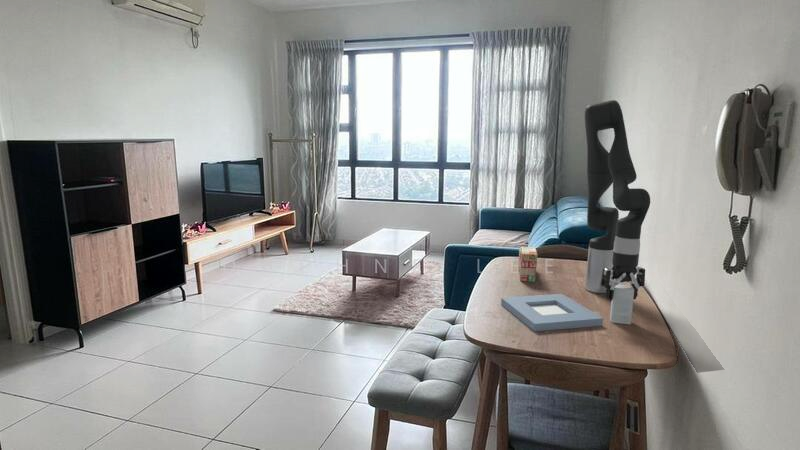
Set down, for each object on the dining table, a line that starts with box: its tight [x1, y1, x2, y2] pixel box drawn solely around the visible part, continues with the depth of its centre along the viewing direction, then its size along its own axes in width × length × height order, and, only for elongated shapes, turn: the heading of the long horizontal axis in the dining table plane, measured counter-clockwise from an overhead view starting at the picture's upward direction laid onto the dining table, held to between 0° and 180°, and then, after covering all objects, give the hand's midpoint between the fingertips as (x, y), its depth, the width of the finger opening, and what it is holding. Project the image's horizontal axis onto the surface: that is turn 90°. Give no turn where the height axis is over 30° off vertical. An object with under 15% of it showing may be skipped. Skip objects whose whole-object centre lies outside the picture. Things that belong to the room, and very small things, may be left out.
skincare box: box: [609, 284, 634, 326], centre depth 150 cm, size 6×4×12 cm
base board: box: [500, 293, 604, 332], centre depth 157 cm, size 24×24×2 cm
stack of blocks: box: [518, 246, 538, 283], centre depth 202 cm, size 21×6×12 cm, turn 168°
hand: (621, 299), depth 150 cm, fingers open, 8 cm apart
